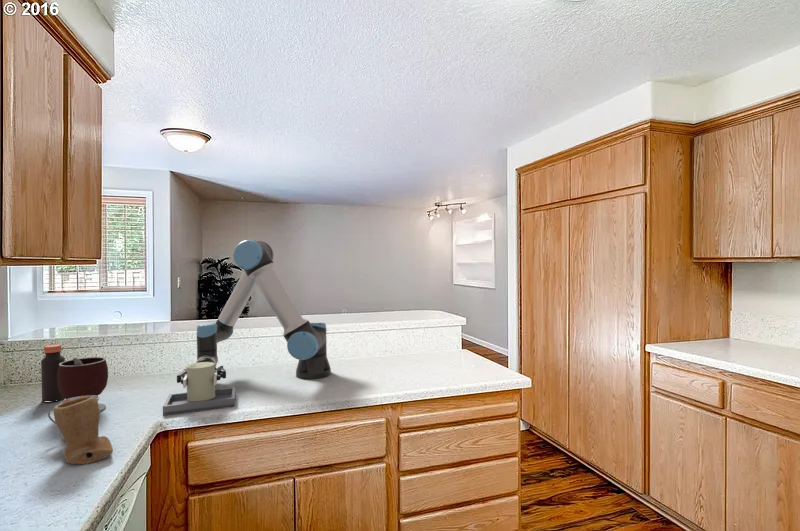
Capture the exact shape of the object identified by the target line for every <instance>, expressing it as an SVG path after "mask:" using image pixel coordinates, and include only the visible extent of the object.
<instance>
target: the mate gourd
mask: <svg viewBox="0 0 800 531" xmlns="http://www.w3.org/2000/svg"><path fill="white" fill-rule="evenodd" d="M108 378H109V367H108V363H107V358H106V357H103V356H102V357H101V356H92V357H91V356H89V357H80V358H77V357H74V358H72V359H68V360H65V361H64V362H62V363H60V364H59V368H58V374H57V384H58V389H59V392H60V394H61V395H62V396H63V397H64V400H66V399H69V398H73V397H78V396H85V395H97V396H99V395H101V394H102V393H103V391H104V390H105V389H106V387H107V385H108V380H109V379H108ZM98 406H99V412H100V413H101V412H103V411H105V410H106V409H107V406H106V404H104V403H98Z"/></svg>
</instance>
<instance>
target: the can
mask: <svg viewBox="0 0 800 531" xmlns="http://www.w3.org/2000/svg"><path fill="white" fill-rule="evenodd" d="M185 369H187V386H186V392H187V400H188V401H191V402H199V401H206V400H209V399H212V398H214V397H215V389H216V387H215V386H216V385H214V374H215V363H213V362H199V363H196V362H193V363H189V364H187V365H186V368H185Z"/></svg>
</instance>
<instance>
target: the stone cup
mask: <svg viewBox="0 0 800 531" xmlns="http://www.w3.org/2000/svg"><path fill="white" fill-rule="evenodd" d="M60 403H61V402H60ZM60 403H59V404H57V405H55V406H54V407H53V408H54V410H52V411H53V417H54V421H55V422H56V424H55V425H56V426H57V428H58V431H59V432H60V433H61V436H62V435H63V437H64V439H63V440H64V441H65V444H66V447H65V449H64V451H63V454H64V457H65V461H66V462H67V463H68V464H76V465H87V464H91V463H95V462H98V461H101V460H103V459H106V457H109V456H111V455H112V454H113V452H114V450H113V446H112V443H111V441H110V439H109V438H108V437H107V436H99V425H100V424H99V422H100V416H101V414H100V413H101V412H99V406H98V404H99V400H98V401H97V399H96V398H95V397H93V396H85V397H81V398H77V399H74V400H70V401H67V402H63V403H61V404H60Z"/></svg>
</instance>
